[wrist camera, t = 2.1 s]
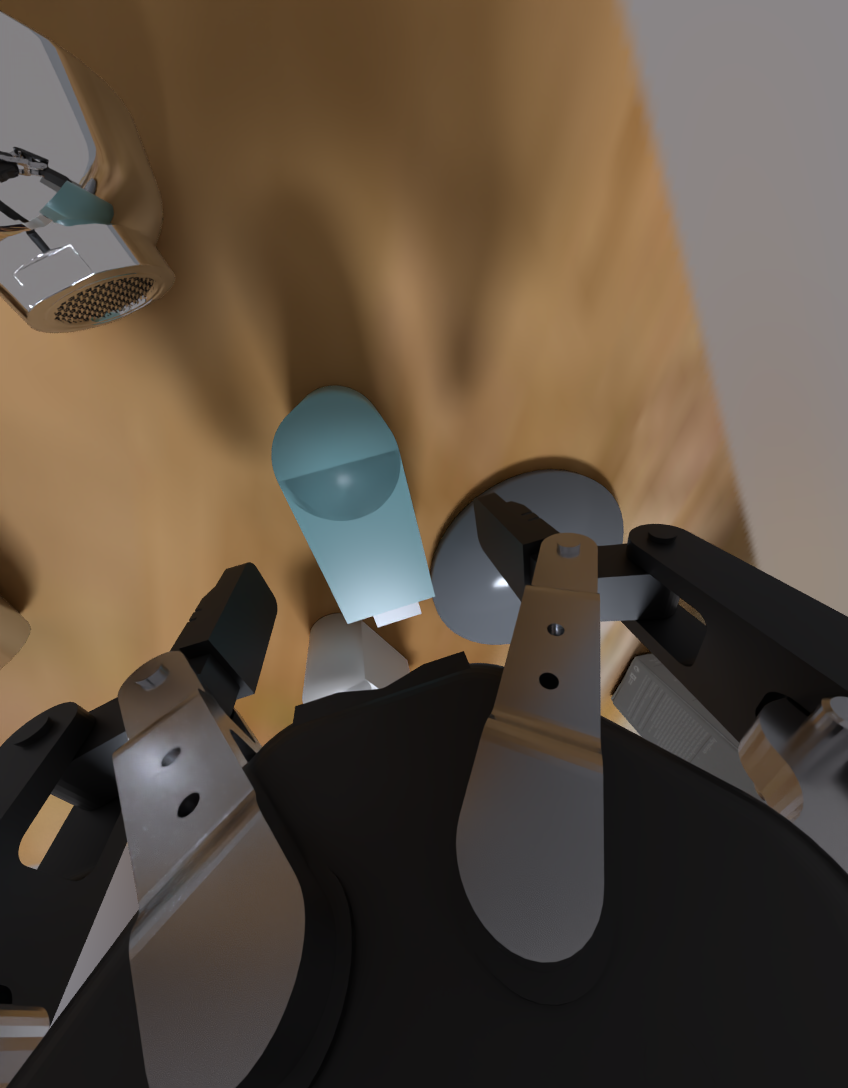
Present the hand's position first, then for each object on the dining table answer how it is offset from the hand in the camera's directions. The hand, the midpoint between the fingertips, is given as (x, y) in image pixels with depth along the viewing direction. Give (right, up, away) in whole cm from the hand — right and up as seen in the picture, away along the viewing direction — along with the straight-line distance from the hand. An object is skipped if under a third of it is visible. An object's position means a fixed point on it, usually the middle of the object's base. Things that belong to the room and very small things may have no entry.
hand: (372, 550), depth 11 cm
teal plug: (-1, +2, +3) cm, 4 cm away
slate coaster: (+8, -1, +8) cm, 11 cm away
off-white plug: (-2, -7, +8) cm, 11 cm away
